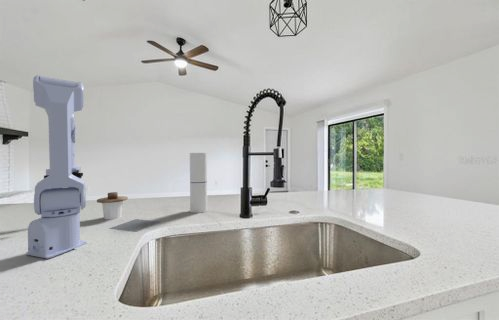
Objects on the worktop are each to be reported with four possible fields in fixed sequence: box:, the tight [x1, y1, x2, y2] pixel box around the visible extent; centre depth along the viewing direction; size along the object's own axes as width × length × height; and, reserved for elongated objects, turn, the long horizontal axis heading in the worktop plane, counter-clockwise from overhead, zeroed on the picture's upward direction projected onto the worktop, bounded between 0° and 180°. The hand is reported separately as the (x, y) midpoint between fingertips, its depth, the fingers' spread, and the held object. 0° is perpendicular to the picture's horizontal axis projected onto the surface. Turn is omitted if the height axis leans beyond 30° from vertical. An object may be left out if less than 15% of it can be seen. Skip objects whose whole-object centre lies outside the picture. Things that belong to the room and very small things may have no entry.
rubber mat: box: [109, 218, 161, 233], centre depth 74 cm, size 11×11×1 cm
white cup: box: [101, 201, 124, 221], centre depth 84 cm, size 7×7×7 cm
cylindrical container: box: [189, 152, 208, 214], centre depth 94 cm, size 7×7×25 cm
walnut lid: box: [96, 191, 128, 204], centre depth 84 cm, size 10×10×3 cm
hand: (65, 194), depth 77 cm, fingers open, 7 cm apart
